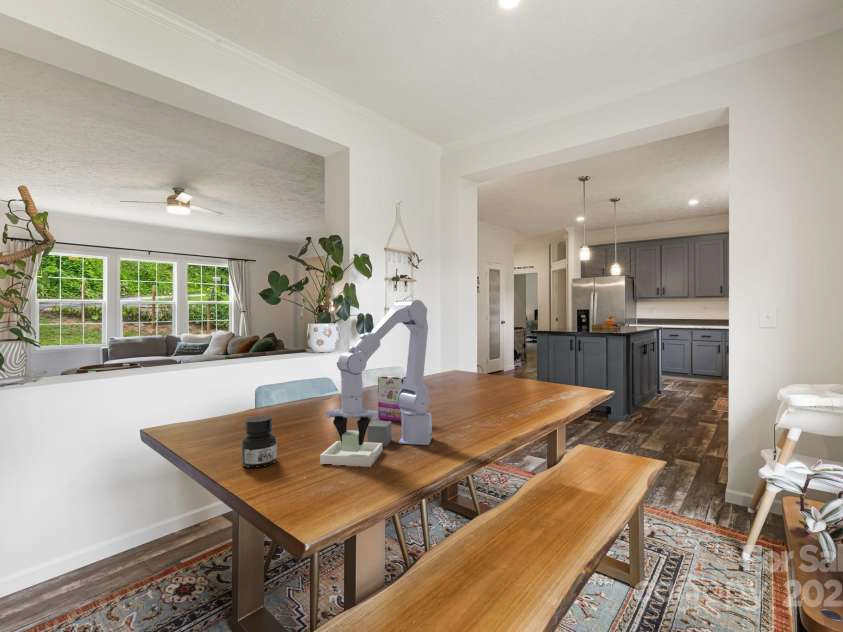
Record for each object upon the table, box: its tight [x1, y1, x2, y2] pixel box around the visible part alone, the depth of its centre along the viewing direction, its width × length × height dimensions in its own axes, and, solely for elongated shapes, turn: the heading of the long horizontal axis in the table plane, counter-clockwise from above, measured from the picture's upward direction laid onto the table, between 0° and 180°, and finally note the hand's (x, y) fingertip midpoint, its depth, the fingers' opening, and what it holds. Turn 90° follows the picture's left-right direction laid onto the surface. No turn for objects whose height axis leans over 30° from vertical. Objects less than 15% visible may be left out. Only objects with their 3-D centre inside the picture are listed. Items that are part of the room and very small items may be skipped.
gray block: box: [367, 420, 393, 447], centre depth 129 cm, size 6×6×6 cm
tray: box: [319, 440, 384, 468], centre depth 115 cm, size 14×12×2 cm
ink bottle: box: [241, 415, 278, 468], centre depth 113 cm, size 10×9×12 cm
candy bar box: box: [377, 374, 406, 423], centre depth 155 cm, size 11×5×16 cm, turn 62°
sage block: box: [342, 429, 363, 452], centre depth 116 cm, size 4×4×4 cm
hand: (352, 443), depth 115 cm, fingers closed on sage block, 4 cm apart
